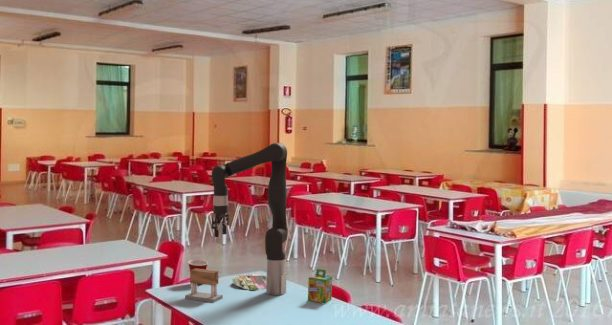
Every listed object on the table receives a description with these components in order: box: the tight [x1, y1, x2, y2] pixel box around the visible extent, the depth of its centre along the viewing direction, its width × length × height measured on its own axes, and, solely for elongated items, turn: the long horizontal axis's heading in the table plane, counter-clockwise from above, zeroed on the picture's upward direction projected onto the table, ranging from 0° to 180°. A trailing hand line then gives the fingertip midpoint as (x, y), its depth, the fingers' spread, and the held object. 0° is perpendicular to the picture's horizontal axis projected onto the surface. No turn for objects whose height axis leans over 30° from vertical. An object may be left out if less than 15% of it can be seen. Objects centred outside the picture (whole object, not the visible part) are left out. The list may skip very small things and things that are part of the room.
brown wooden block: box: [189, 268, 219, 286], centre depth 290 cm, size 4×13×6 cm, turn 68°
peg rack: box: [184, 283, 223, 303], centre depth 290 cm, size 16×8×8 cm, turn 68°
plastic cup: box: [187, 259, 209, 286], centre depth 317 cm, size 11×11×12 cm
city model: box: [231, 273, 267, 292], centre depth 317 cm, size 25×23×6 cm
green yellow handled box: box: [307, 268, 333, 304], centre depth 291 cm, size 9×9×15 cm
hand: (220, 235), depth 309 cm, fingers open, 8 cm apart
